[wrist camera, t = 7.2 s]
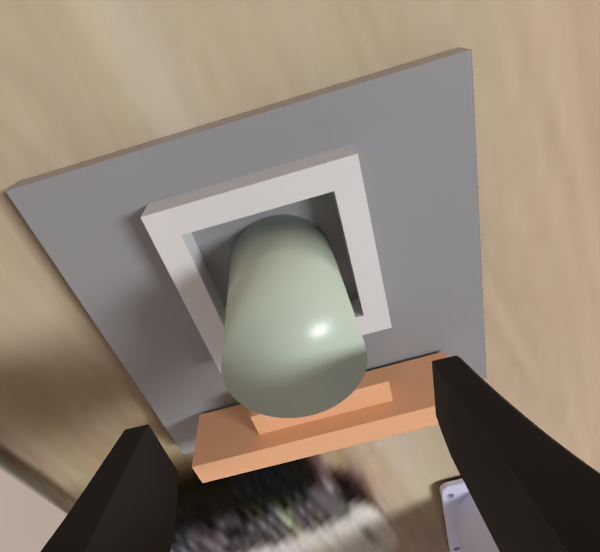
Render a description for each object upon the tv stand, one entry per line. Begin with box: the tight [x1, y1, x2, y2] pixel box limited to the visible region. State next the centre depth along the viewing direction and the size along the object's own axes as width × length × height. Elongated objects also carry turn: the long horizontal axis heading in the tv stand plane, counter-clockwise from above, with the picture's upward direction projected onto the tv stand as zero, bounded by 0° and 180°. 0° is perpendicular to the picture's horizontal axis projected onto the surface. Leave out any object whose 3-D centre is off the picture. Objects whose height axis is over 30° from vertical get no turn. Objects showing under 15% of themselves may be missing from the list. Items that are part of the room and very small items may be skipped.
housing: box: [6, 48, 487, 455], centre depth 18 cm, size 15×16×2 cm
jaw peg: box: [221, 214, 367, 418], centre depth 14 cm, size 4×4×6 cm
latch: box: [192, 352, 447, 483], centre depth 19 cm, size 2×12×3 cm, turn 105°
